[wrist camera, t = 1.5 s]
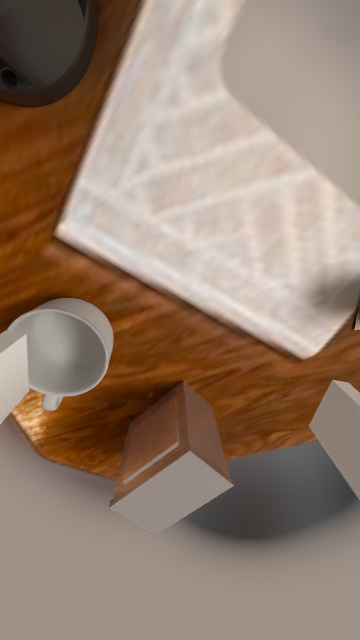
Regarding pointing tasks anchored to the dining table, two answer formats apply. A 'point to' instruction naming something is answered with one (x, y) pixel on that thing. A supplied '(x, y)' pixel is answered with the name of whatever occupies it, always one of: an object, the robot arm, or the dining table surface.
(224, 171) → the dining table surface
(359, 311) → the condiment
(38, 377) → the teacup
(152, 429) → the napkin dispenser
